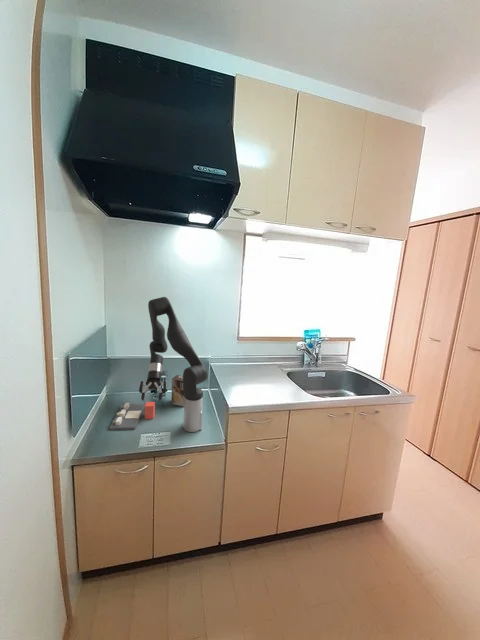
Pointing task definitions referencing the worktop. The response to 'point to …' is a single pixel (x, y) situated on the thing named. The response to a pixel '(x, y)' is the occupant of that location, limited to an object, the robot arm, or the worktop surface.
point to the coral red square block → (149, 410)
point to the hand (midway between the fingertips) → (151, 400)
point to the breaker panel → (127, 417)
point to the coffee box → (177, 390)
